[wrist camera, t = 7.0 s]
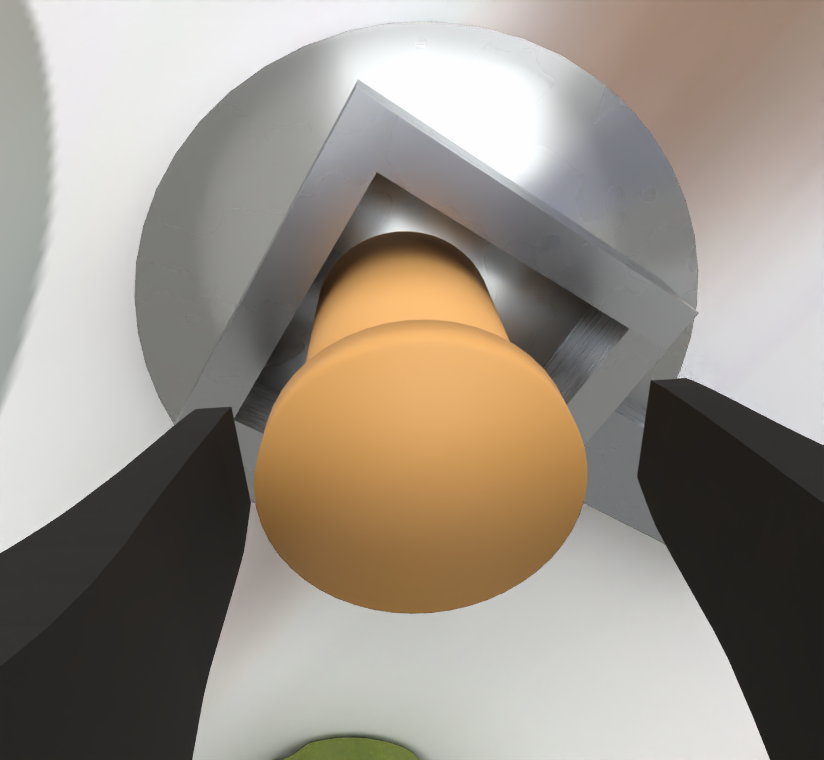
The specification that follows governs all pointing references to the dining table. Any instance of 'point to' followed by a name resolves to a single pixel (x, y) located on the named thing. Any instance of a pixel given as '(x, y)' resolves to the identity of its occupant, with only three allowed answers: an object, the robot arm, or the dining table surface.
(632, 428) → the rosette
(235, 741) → the dining table surface
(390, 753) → the plant pot
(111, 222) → the dining table surface
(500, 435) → the pin
